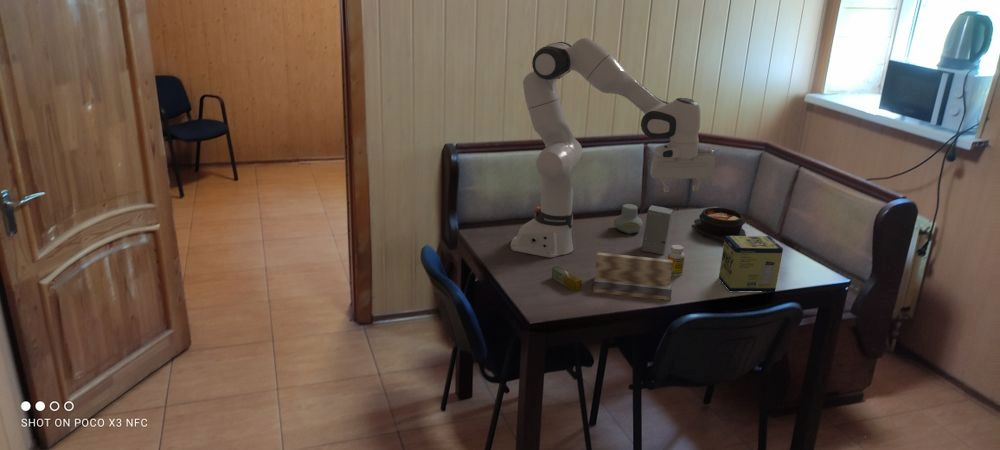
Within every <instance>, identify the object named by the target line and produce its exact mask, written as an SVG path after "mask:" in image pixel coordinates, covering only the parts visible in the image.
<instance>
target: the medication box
mask: <svg viewBox="0 0 1000 450" xmlns="http://www.w3.org/2000/svg"><path fill="white" fill-rule="evenodd" d="M551 270H552V271H551V276H552V277H551V278H552V279H553V280H555V281H556V282H557V283H558V282H559V283H560V284H561V285H563V286H565V287H567V288H568V289H569V290H571V291H573V292H576V293H577V292H579V291H581V290H582V282H583V281H582V279H581V278H579V277H578V276H576V275H574V274H572V273H571V272H570V271H567V270H566V269H564V268H562V267H561V266H559V265H557V266H553V267H552V268H551Z"/></svg>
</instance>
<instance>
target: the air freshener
mask: <svg viewBox="0 0 1000 450" xmlns="http://www.w3.org/2000/svg"><path fill="white" fill-rule="evenodd" d="M638 210H639V206H638V205H636V204H632V203H625V204H623V205H622V206H621V214H620V215H618V216H616V217H615V218H614V221H613V225H614V227H615V228H616V230H618V231H620V232H621V233H625V234H627V235H628V234H629V235H630V234H634V233H637V232H639V231H641V229H643V225H644V223H643V220H642V219H641V218H640V216H638V212H639V211H638Z"/></svg>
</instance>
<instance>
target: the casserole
mask: <svg viewBox="0 0 1000 450" xmlns="http://www.w3.org/2000/svg"><path fill="white" fill-rule="evenodd" d="M698 217H699V218H697V219H695V220H693V221H694V223H695V229H696V231H698V232H699V233H700V234H703V235H705V236H707V237H710V238H714V239H716V240H718V241H720V242H721V241H722V242H724V241H725V236H747V234H746V231H745V229H743V225H745V224H746V221H745V219H744V216H743V214H742V213H740V212H739V211H736V210H734V209H730V208H725V207H724V208H723V207H709V208H705V209H703V210H702V212H701V213H700V214H699V215H698Z"/></svg>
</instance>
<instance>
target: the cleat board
mask: <svg viewBox="0 0 1000 450" xmlns="http://www.w3.org/2000/svg"><path fill="white" fill-rule="evenodd" d="M595 260H596V261H595V269H594V279H593V285H592V286H593V287H592V292H593V293H597V294H608V295H616V296H617V295H618V296H625V297H637V298H643V299H644V298H645V299H651V298H655V299H654V300H660V299H664V300H663V301H669V300H672V290H673V288H672V287H671V280H672V275H671V273H672V266H673V260H668V259H664V258H656V257H655V258H653V257H647V256H646V257H645V256H634V255H627V254H617V253H608V252H606V253H605V252H599V251H598V252H596V259H595Z"/></svg>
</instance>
